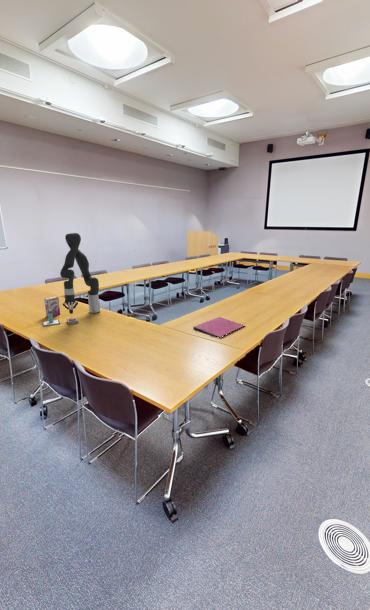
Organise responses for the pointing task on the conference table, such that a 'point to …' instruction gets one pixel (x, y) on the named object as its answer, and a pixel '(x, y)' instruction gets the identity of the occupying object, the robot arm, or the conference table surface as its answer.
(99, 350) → the conference table surface
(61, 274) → the robot arm
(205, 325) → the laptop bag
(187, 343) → the conference table surface
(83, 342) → the conference table surface
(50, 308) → the candy bar box
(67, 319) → the button housing
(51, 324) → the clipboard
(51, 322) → the marker
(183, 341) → the conference table surface
